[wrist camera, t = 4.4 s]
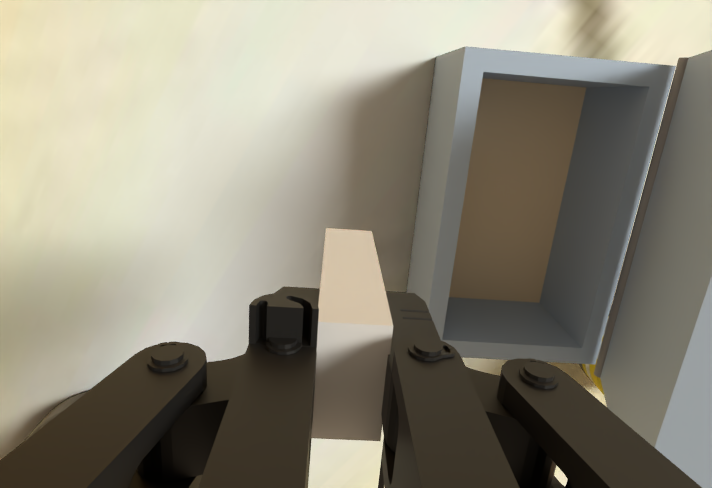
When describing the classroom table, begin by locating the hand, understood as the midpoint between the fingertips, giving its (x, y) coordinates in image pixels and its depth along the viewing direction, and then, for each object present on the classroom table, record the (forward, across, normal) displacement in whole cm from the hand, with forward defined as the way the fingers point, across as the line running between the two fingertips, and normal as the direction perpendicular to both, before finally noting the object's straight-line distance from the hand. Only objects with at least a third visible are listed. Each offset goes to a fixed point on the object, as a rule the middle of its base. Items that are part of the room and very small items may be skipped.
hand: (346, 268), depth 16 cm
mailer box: (+16, +10, 0) cm, 18 cm away
